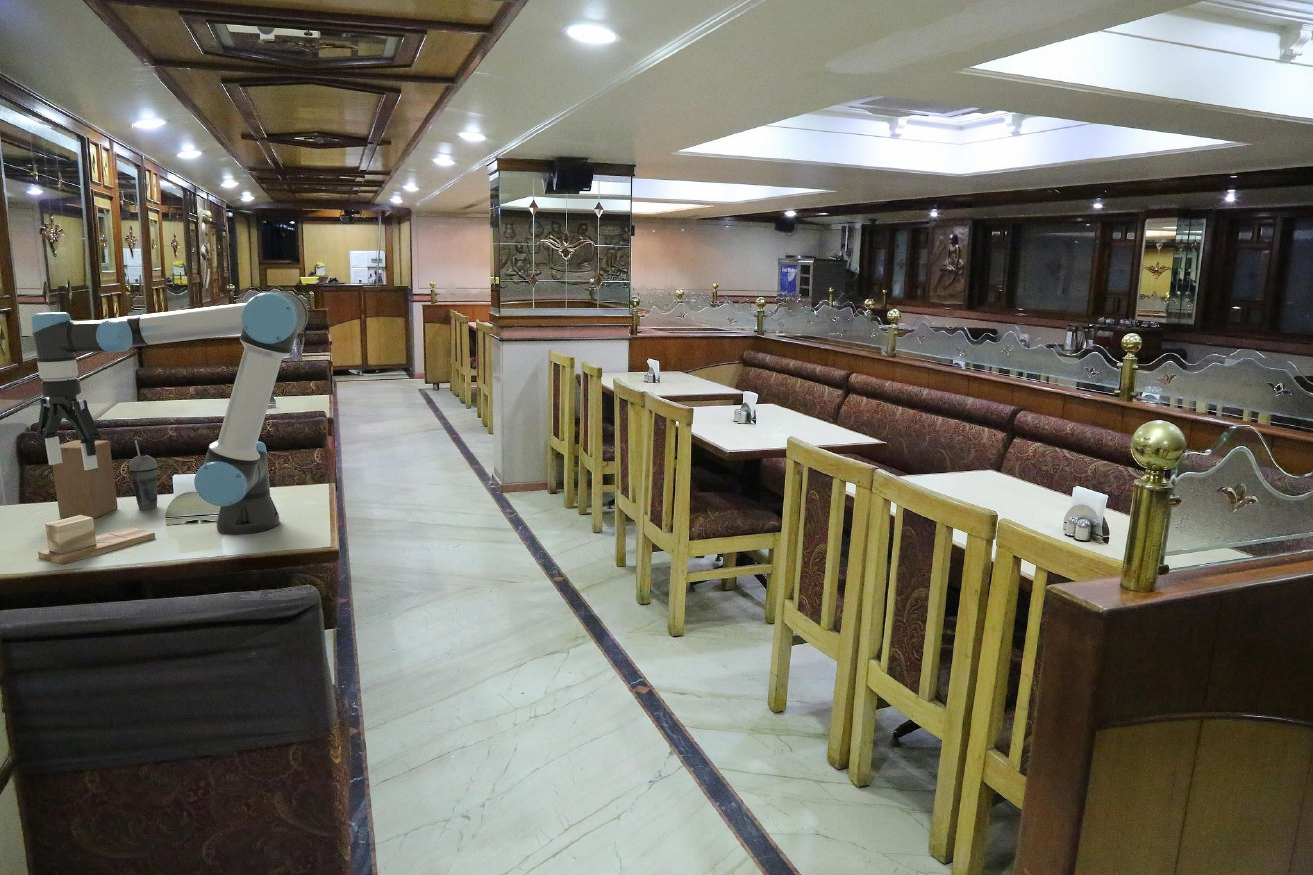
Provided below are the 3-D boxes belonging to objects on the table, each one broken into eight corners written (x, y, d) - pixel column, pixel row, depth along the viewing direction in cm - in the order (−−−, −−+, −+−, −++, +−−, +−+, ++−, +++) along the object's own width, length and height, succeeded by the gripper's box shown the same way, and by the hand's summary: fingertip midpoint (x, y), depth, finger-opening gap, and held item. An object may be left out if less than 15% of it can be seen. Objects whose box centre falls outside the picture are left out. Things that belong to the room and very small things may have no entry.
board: (155, 538, 214) (154, 532, 214) (63, 564, 195) (62, 558, 194) (131, 532, 218) (130, 526, 218) (38, 557, 199) (37, 551, 199)
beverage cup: (167, 507, 241) (160, 439, 237) (140, 513, 235) (132, 443, 231) (155, 503, 245) (147, 436, 241) (128, 508, 239) (120, 440, 235)
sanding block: (96, 545, 203) (93, 517, 202) (61, 555, 196) (57, 526, 195) (84, 542, 206) (80, 514, 204) (49, 551, 199) (45, 523, 197)
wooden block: (94, 519, 229) (85, 447, 225) (59, 518, 230) (49, 447, 226) (118, 508, 239) (110, 440, 235) (84, 508, 239) (75, 439, 235)
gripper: (109, 379, 195) (122, 467, 200) (44, 374, 206) (57, 458, 210) (76, 383, 189) (90, 474, 193) (10, 378, 199) (25, 465, 203)
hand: (73, 466), depth 201 cm, fingers open, 13 cm apart
